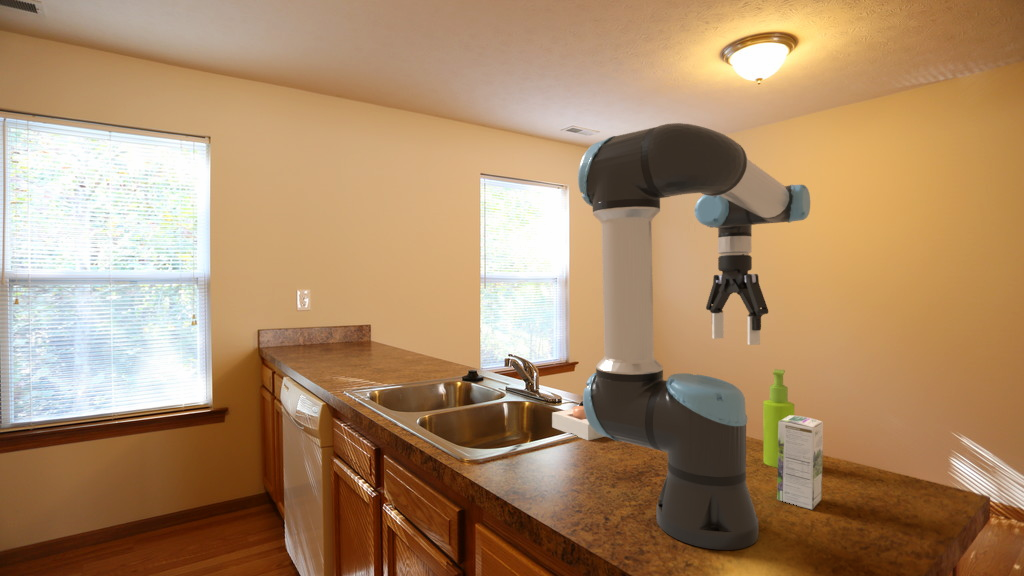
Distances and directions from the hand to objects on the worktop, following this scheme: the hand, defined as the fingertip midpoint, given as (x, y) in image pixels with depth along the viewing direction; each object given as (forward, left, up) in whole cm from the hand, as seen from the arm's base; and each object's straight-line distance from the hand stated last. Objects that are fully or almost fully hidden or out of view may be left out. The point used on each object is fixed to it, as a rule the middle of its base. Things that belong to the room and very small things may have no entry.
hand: (734, 341), depth 123 cm
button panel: (-16, +28, -25) cm, 41 cm away
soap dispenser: (-6, -14, -25) cm, 29 cm away
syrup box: (-22, -26, -25) cm, 42 cm away
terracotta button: (-25, +28, -22) cm, 43 cm away
